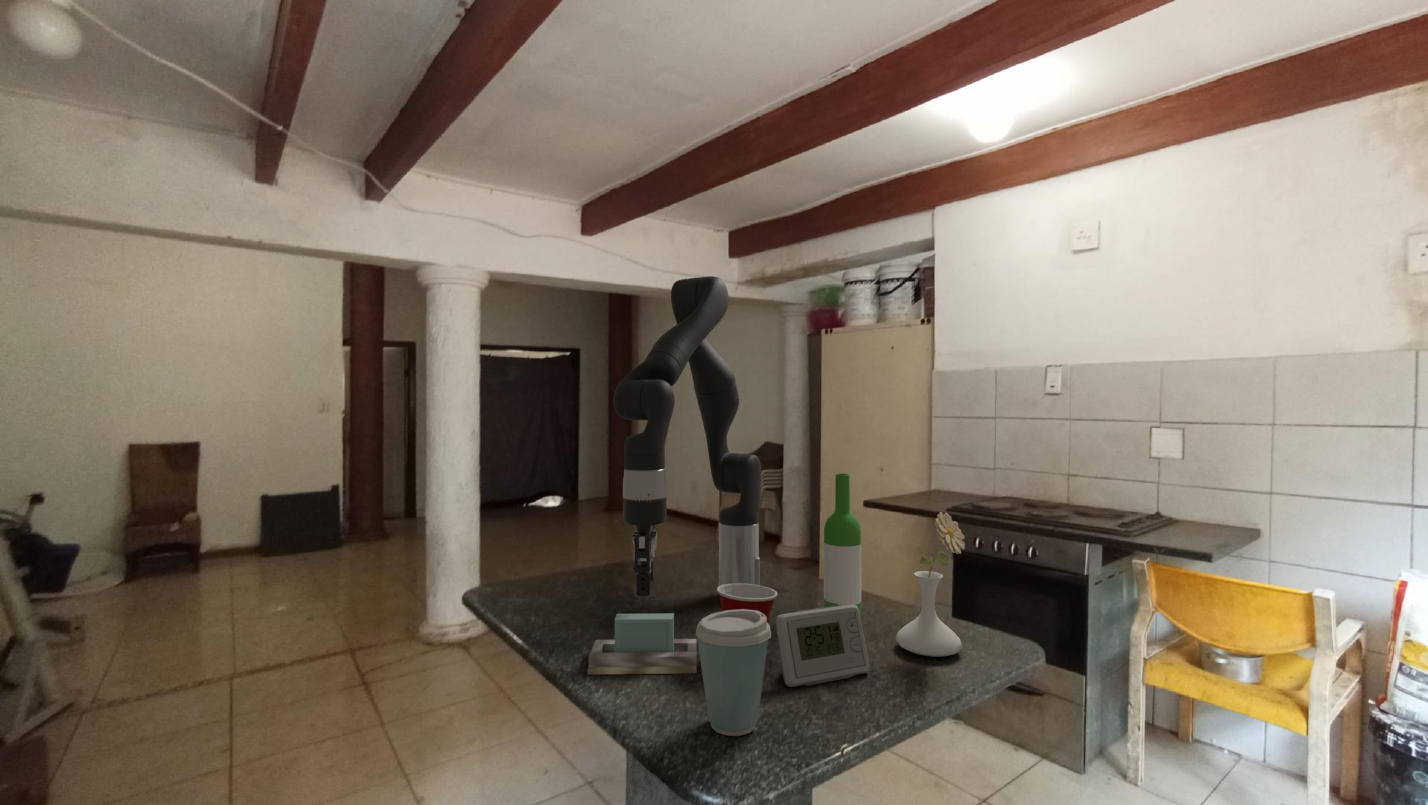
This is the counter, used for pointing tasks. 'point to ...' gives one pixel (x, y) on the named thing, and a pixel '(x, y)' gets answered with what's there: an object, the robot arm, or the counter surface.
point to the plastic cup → (747, 597)
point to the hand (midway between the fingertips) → (645, 587)
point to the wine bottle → (842, 551)
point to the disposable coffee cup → (733, 667)
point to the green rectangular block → (644, 633)
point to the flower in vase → (933, 600)
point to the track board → (643, 659)
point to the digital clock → (821, 645)
